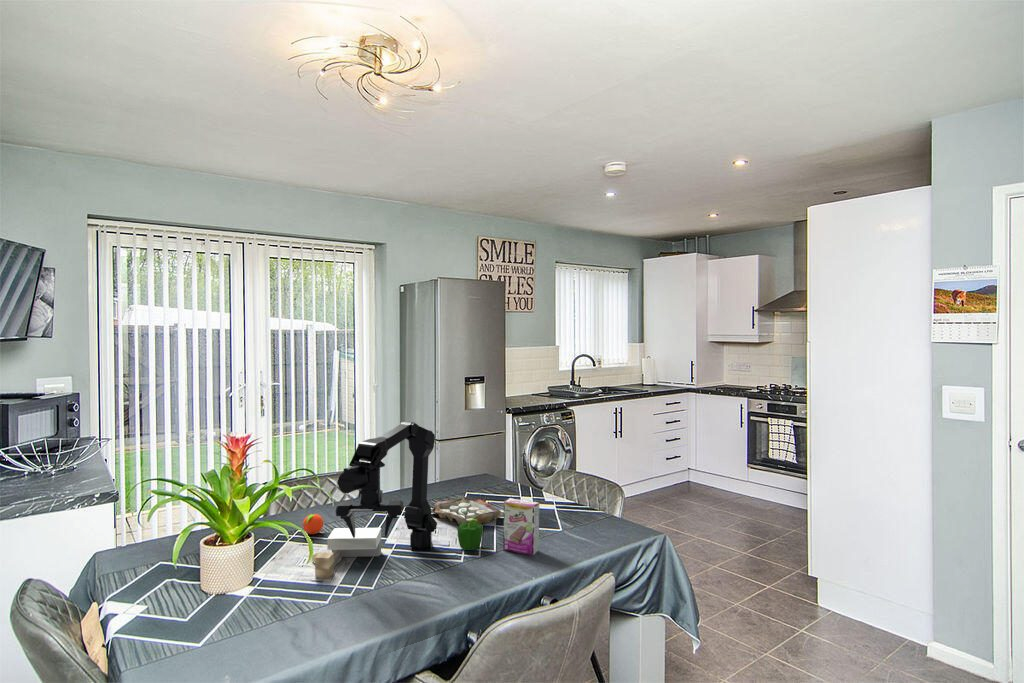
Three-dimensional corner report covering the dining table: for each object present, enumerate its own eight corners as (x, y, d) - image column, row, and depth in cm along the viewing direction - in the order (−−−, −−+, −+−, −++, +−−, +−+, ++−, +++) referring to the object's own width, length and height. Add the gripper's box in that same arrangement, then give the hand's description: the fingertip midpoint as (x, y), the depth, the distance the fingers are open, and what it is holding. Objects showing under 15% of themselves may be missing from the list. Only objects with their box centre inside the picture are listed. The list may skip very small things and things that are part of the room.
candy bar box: (502, 550, 188) (502, 501, 187) (508, 545, 192) (509, 497, 192) (533, 556, 183) (534, 506, 183) (539, 551, 188) (539, 502, 187)
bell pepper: (452, 548, 189) (452, 518, 189) (470, 541, 196) (470, 512, 195) (469, 555, 184) (469, 524, 184) (487, 548, 190) (487, 518, 190)
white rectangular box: (381, 551, 186) (381, 527, 186) (376, 563, 177) (376, 537, 177) (334, 552, 185) (334, 528, 185) (327, 564, 176) (327, 538, 176)
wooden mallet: (346, 557, 181) (346, 539, 181) (328, 578, 166) (328, 558, 166) (334, 557, 181) (334, 538, 181) (315, 577, 166) (315, 557, 166)
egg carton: (418, 515, 224) (418, 501, 224) (460, 502, 239) (460, 490, 239) (469, 534, 203) (469, 519, 203) (511, 519, 219) (511, 505, 219)
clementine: (315, 539, 197) (315, 518, 196) (297, 537, 198) (297, 517, 198) (327, 530, 204) (327, 511, 204) (309, 529, 206) (309, 510, 206)
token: (331, 558, 181) (331, 552, 181) (324, 564, 176) (324, 559, 176) (316, 557, 182) (316, 551, 181) (309, 563, 177) (309, 558, 177)
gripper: (405, 476, 175) (405, 527, 175) (344, 477, 174) (344, 527, 174) (400, 487, 164) (400, 540, 164) (335, 487, 163) (335, 541, 163)
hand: (370, 537), depth 167 cm, fingers open, 9 cm apart
